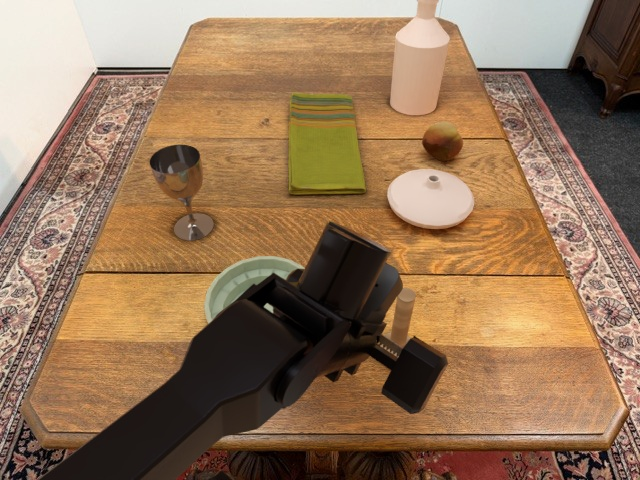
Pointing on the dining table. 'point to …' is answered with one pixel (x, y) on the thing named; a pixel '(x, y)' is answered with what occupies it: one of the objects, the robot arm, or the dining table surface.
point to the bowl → (244, 281)
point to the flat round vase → (430, 198)
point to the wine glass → (182, 186)
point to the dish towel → (323, 145)
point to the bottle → (419, 62)
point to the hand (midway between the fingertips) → (381, 329)
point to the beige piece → (402, 318)
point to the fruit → (442, 141)
